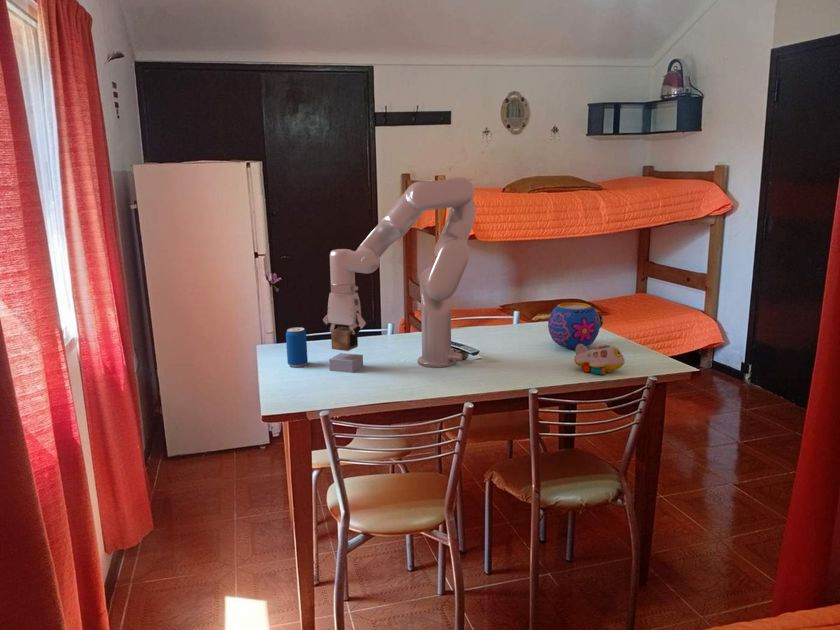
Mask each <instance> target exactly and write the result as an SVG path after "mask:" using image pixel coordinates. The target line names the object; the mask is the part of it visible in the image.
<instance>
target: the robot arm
mask: <svg viewBox="0 0 840 630" xmlns="http://www.w3.org/2000/svg"><path fill="white" fill-rule="evenodd" d="M474 196H475V186H474V184H473V183H472V182H471V181H470V179H468V178H466V177H463V176H452V177H450V178H447V179H440V180H439V179H438V180H430V181H415V182H413V183H412V184H411V185H409V186H408V187H407V189H406V190H404V192H403V194H401V196H400V197H399V198H398V200H397V201H396V202H395V203H394V205H392V207H391V208H390V210H389V211H387V213H386V214H385V215H384V217H383V218H382V219H381V220H380V221H379V223H378V224H377V225H376V226H375V227H374V228H373V230H371V231H370V233H369V234H368V235H367V236H366V238H365V239H364V240H363V241H362V242H361V244H360V245H359V246H358V247H357V249H356V250H352V249H348V248H337V249H332V250H331V251H330V252H329V267H330V268H329V271H330V292H329V295H328V301H327V314H326V315H325V316H324V318H322V321H323V323H324V324H325V325H326V327H327V328H328V329H329V332H330V333H331V330H334V329H337V328H340V327H339V326H348V328H350V331H351V333H352V334H350V346H351V347H353V346H356V345H357V343H358V344H359V339H358V337H359V335H358V334H359V333H360V331H361V330H362V329H363V328H364V327H365V326H366V324H367V322H366V321H365V319H364V318H363V317H362V310H361V309H362V307H361V301H360V297H359V293H358V292H357V291H358V290H359V286H357V285H356V280H355V279H356V278H355V277H356V275H355V273H357V274H358V273H360V274H371V273H374V272H375V271H376V270H378V269H379V267H380V261H381V260H380V258H381V257H382V255H383V254H384V253H385V252H386V251H387V250H388V249H389V248H390V246H391V245H393V244H394V243H395V242H396V241H398V240H399V239H402V238H403V237H404V236H405V235H406V234H407V233H408V232H409V231H410V230H411V228H412V227H413V226H414V225H415V223H416V222H417V221H418V220H419V219H420V217H421V216H422V215H423V214H424V213H425V211H433V210H440V209H447V208H448V215H447V218H446V220H445V223H444V225H443V229H442V230H441V233H440V236H439V237H438V240H437V241H436V243H435V246H434V255H435V260H434V263H433V265H432V266H429V267H426V269H424V270H423V271H422V272H421V275H420V277H419V278H420V279H419V292H420V293H419V295H420V305H421V306H420V308H421V310H420V311H421V317H420V319H421V356H419V357H418V358H417V364H418V365H420V366H422V367H427V368H445V367H450V366H453V365H455V364H456V363H457V361H459V362H461V361H462V360H463V353H459V352H455V348H453V347H452V305H451V304H452V303H451V302H452V301H451V297H452V296H453V295H454V294H455V292H456V290H457V288H458V286H459V283H460V282H461V279H462V277H463V275H464V272H465V270H466V267H467V266H468V262H469V260H470V255H471V254H470V247H469V245H468V243H467V242H468V240H469V238H470V235H471V232H472V229H473V226H474V223H475V219H476V204H475V200H474Z"/></svg>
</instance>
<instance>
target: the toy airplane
mask: <svg viewBox="0 0 840 630" xmlns="http://www.w3.org/2000/svg"><path fill="white" fill-rule="evenodd" d="M573 360H574V364H576V365H577V366H578V367H580V368H581V371H582V373H585V374H588V373H590V372H591V373H592V374H595V375H606V373H613V372H614V371H617V370H618V369H620V368H621V367H623V366H624V365H625V361H626V359H625V357H624V354H622V352H621V351H620V350H619V349H618V348H617V347H615V346H612V345H609V344H606V345H604V344H603V345H599V346H596V347H594V348H592V349H588V348H587V346H586V347H585V346H584V345H583V344H578V345H577V346H576V349H575V355H574V358H573Z"/></svg>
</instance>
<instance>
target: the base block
mask: <svg viewBox="0 0 840 630" xmlns="http://www.w3.org/2000/svg"><path fill="white" fill-rule="evenodd" d="M328 365H329V371H330V372H337V373H338V372H341V373H351V374H352V373H355V372H357V370H359V369H361V368H362V367H364V354H358V353H357V354H356V353H344V352H341V353H340V352H339V353H338V354H336V355H335V356H333V357H330V358H329V363H328Z"/></svg>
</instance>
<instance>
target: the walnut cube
mask: <svg viewBox="0 0 840 630" xmlns="http://www.w3.org/2000/svg"><path fill="white" fill-rule="evenodd" d="M330 333H331V334H330V337H331V339H330V340H331V341H330V342H331V350H336V351H344V352H348V351H352V350H353V349H357V348H358V347H359V342H358V343H357V345H356V346H353V347H351V346H350V334H352V333H351V331H350V328H349V326H348V327H346V326H340V327H338V328H337V329H334V330H331V332H330Z"/></svg>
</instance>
